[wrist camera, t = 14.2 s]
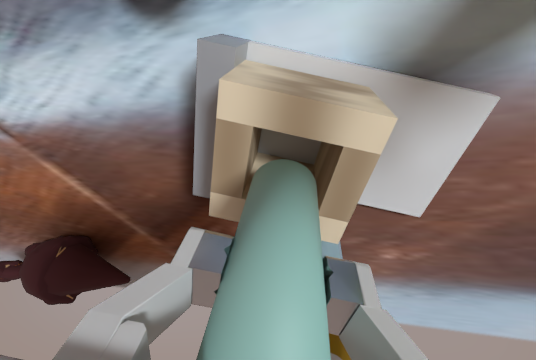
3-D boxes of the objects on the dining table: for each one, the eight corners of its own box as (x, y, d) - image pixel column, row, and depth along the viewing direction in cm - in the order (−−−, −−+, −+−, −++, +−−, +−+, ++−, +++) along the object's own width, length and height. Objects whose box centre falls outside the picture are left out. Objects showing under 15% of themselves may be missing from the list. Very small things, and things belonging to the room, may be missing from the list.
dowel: (310, 217, 14) (320, 471, 6) (250, 208, 14) (184, 446, 6) (322, 163, 12) (357, 426, 4) (253, 155, 12) (167, 393, 4)
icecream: (94, 271, 22) (-42, 244, 25) (107, 338, 24) (-19, 307, 27) (146, 231, 28) (34, 214, 31) (153, 287, 31) (48, 266, 33)
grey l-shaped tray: (490, 93, 17) (544, 115, 13) (415, 209, 22) (438, 249, 19) (221, 33, 17) (197, 38, 13) (211, 164, 22) (192, 194, 19)
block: (369, 87, 16) (398, 118, 11) (329, 188, 21) (338, 244, 16) (245, 59, 16) (219, 79, 11) (232, 167, 21) (208, 215, 16)
